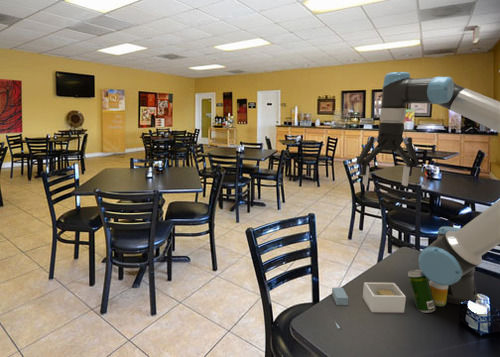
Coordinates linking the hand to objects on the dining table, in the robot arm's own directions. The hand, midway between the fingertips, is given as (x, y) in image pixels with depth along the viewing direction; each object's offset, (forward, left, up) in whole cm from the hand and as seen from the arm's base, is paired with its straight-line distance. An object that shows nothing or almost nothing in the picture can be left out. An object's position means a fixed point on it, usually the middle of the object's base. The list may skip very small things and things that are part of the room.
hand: (384, 184), depth 107 cm
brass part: (+2, +14, -36) cm, 39 cm away
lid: (+16, +17, -37) cm, 44 cm away
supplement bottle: (-16, +12, -37) cm, 42 cm away
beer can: (-10, +17, -37) cm, 41 cm away
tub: (+3, +14, -37) cm, 40 cm away
